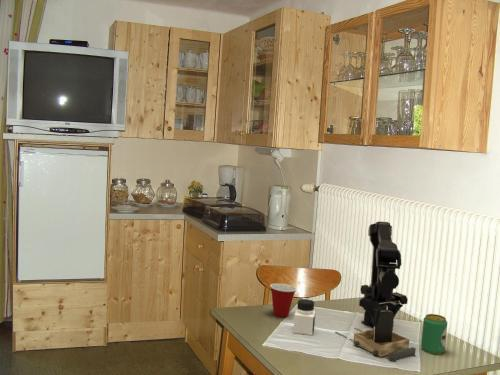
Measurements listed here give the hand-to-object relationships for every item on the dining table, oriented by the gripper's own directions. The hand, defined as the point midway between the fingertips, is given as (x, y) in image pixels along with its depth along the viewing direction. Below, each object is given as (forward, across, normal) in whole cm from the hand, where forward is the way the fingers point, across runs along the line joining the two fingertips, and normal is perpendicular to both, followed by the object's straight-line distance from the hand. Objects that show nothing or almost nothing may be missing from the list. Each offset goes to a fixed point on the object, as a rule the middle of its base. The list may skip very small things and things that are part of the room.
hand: (381, 324), depth 194 cm
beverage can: (+8, -15, +11) cm, 20 cm away
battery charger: (+6, 0, 0) cm, 6 cm away
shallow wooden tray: (+8, 0, 0) cm, 8 cm away
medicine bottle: (+8, +15, -24) cm, 29 cm away
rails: (+8, 0, -3) cm, 9 cm away
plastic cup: (+8, +12, -42) cm, 44 cm away
